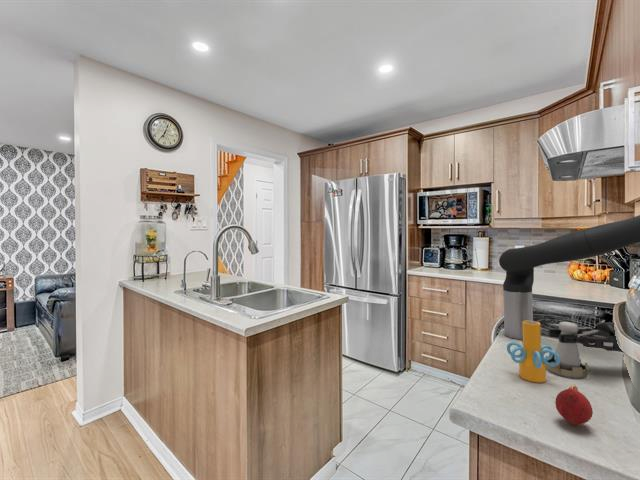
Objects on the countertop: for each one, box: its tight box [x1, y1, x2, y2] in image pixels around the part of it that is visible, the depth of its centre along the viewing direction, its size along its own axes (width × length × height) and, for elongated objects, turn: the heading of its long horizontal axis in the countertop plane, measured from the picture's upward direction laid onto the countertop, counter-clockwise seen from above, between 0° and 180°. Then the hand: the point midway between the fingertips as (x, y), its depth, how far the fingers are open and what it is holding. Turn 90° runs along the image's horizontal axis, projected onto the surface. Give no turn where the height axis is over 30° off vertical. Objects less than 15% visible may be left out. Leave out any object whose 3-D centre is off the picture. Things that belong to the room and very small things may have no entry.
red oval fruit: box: [554, 384, 593, 427], centre depth 62 cm, size 6×6×8 cm
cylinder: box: [506, 320, 560, 384], centre depth 83 cm, size 12×10×15 cm
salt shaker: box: [554, 321, 582, 370], centre depth 86 cm, size 6×6×13 cm
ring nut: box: [544, 355, 589, 380], centre depth 86 cm, size 9×9×3 cm
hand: (554, 335), depth 86 cm, fingers open, 4 cm apart
